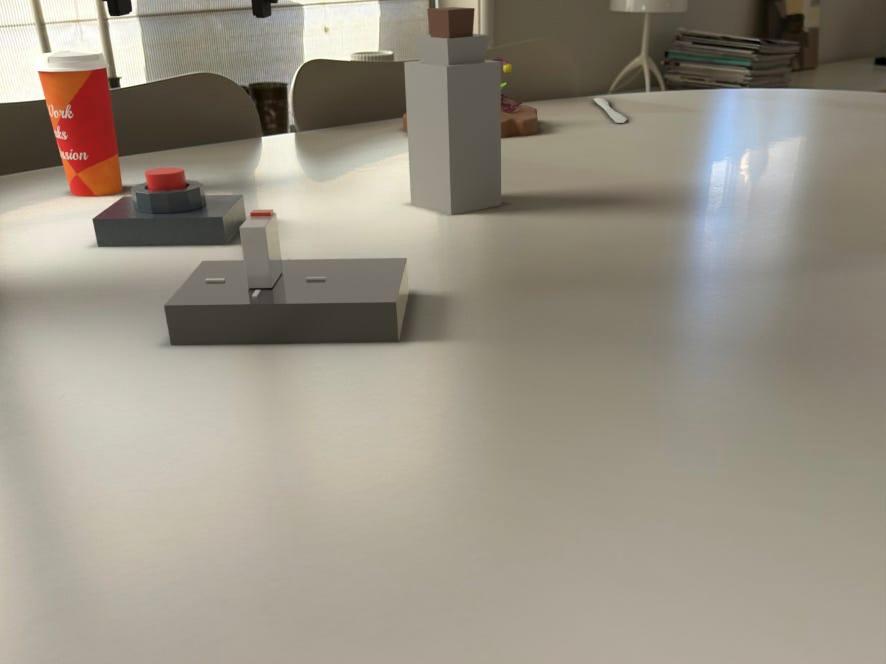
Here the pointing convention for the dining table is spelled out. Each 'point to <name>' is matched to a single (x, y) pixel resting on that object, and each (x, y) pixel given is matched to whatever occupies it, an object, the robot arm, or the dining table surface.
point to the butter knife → (610, 110)
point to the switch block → (170, 218)
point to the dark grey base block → (291, 303)
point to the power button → (165, 179)
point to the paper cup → (82, 119)
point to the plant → (510, 113)
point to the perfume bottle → (453, 116)
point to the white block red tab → (261, 249)
